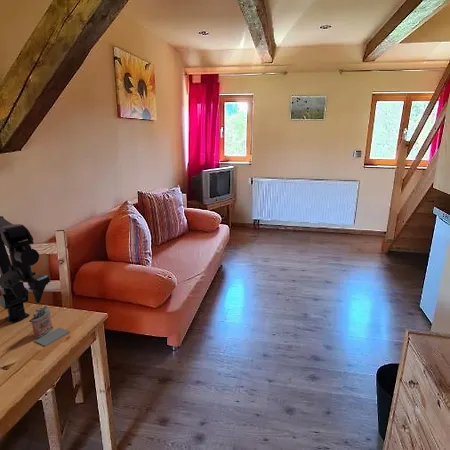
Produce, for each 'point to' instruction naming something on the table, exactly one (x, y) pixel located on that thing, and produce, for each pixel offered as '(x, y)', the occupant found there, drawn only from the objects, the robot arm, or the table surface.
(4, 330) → the table surface
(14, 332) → the table surface
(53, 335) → the pad
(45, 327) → the lighter
